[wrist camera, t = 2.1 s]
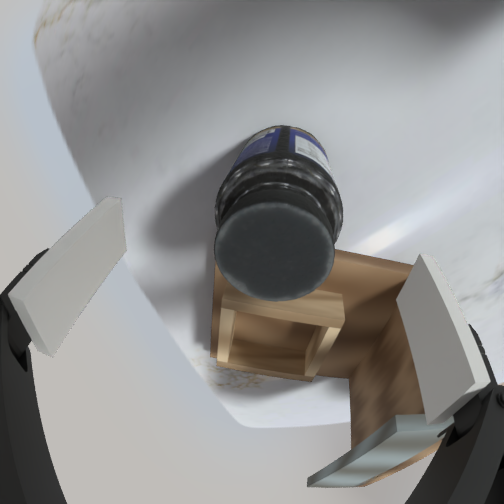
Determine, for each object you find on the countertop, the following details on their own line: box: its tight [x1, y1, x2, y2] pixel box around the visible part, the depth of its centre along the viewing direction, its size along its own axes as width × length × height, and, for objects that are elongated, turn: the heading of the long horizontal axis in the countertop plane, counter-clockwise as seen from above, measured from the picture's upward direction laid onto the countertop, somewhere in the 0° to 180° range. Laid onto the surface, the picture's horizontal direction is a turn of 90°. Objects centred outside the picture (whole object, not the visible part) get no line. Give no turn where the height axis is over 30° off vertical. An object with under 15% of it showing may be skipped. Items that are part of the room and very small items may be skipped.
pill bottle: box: [214, 125, 343, 302], centre depth 16 cm, size 6×6×11 cm
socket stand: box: [210, 249, 454, 488], centre depth 22 cm, size 16×18×15 cm
